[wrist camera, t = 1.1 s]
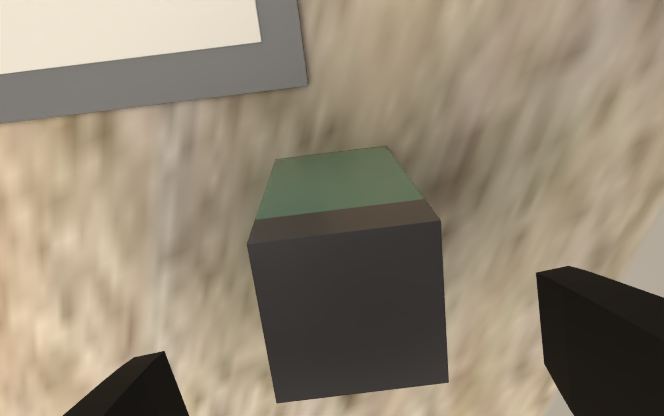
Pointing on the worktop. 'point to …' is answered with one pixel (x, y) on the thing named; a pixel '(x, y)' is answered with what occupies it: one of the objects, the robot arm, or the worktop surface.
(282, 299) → the green and grey block
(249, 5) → the grey picture frame
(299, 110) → the worktop surface
